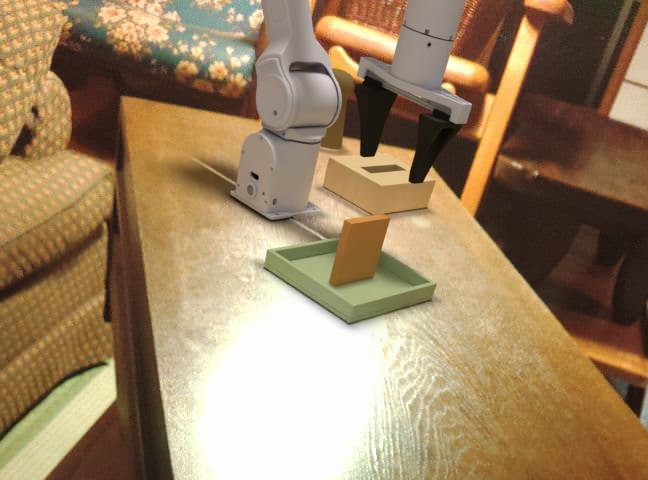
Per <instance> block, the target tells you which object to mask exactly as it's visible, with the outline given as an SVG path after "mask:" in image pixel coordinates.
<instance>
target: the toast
mask: <svg viewBox="0 0 648 480" xmlns="http://www.w3.org/2000/svg"><path fill="white" fill-rule="evenodd" d="M390 221H391V216H389V215H388V214H378V215H371V214H370V215H366V216H365V215H364V216H358V217H351V218H345V219H344V220H343V223H342V227H341V231H340V235H339V236H340V239H339V243H338V247H337V251H336V255H335V259H334V263H333V267H332V271H331V275H330V280H329V282H330V283H332V284H334V285H335V286H338V285H342V284H346V283H350V282H355V281H359V280H363V279H367V278H371V277H374V274H375V270H376V267H377V263H378V260H379V256H380V253H381V250H382V249H383V245H384V242H385V239H386V235H387V232H388V228H389V225H390Z"/></svg>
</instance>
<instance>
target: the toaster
mask: <svg viewBox="0 0 648 480" xmlns="http://www.w3.org/2000/svg"><path fill="white" fill-rule="evenodd" d="M327 160H328V161H327V165H326V168H325V173H324V179H323V182H322V187H323V188H325V189H326V190H328V191H330V192H332V193H333V194H335V195H336V196H339V197H340V198H341V199H344V200H345V201H347V202H349V203H351V204H352V205H354V206H356V207H357V208H359V209H361V210H363V211H364V212H366V213H368V214H370V216H371V215H378V214H385V215H388V214H394V213H402V212H409V211H416V210H423V209H427V208H428V207H429V203H430V201H431V198H432V194H433V191H434V189H435V188H434V187H435V186H436V185H435V184H436V181H437V179H435V178H434V177H431V176H429V175H428V174H427V176H426V178H425V180H424V182H423V183H417V184H412V183H410V182H408V181H409V173H410V169H411V165H408V164H406V163H405V162H404V161H401V160H400V159H397V158H396V157H394V156H392V155H390V154H388V153H386V152H384V153H376V154H375V156H374V157H362V156H360V154H353V155H352V154H351V155H339V156H338V155H335V156H329V157H328V159H327Z"/></svg>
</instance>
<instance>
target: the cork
mask: <svg viewBox="0 0 648 480" xmlns="http://www.w3.org/2000/svg"><path fill="white" fill-rule="evenodd" d="M331 68H332V71H333V74H334V77H335V78H336V80H337V82H338V84H339V86H340V90H341V95H342V106H341V111H340V114H339V116H338V118H337V120H336V122H335V123H334V124H333V125H332V126H330V127H329V128H327V130H326V135H325V137H322V140H321V144H320V148H323V149H327V150H328V149H329V150H341V149H342V148H343V138H344V131H345V130H344V129H345V122H346V121H345V120H346V113H347V102H348V98H349V97H350V96H351V95H352V92H353V91H354V87H355V84H354V83H355V80H354V77H353V75H352V74H351V73H349V72H347V71H346V70H344V69H340V68H336V67H331Z"/></svg>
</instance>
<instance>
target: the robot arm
mask: <svg viewBox="0 0 648 480" xmlns="http://www.w3.org/2000/svg"><path fill="white" fill-rule="evenodd" d="M466 2H467V0H407V2H406V6H405V10H404V14H403V18H402V22H401V25H400V30H399V34H398V38H397V42H396V45H395V49H394V54H393V58H392V62H391V64H388V63H386V62H383V61H382V60H381V61H380V60H378V59H376V58H374V57H370V56H369V57H368V56H360V58H359V59H360V60H359V64H358V68H357V73H356V77H358V78H360V79H362V80H363V81H361V83H355V84H354V88H353V92H354V95H355V100H356V104H357V109H358V117H359V136H360V137H359V155H360V156H362V157H374V156H375V154H377V152H378V150H379V147H380V142H381V139H382V135H383V131H384V128H385V125H386V122H387V120H388V117H389V115H390V112H391V110H392V108H393V105H394V104H395V102H396V100H397V98H398V96H401V97H403V98H405V99H407V100H409V101H411V102H413V103H415V104H417V105H419V106H422V107H424V108H425V109H428V110H430V111H432V113H429V112H427V113H425V112H423V113H419V115H418V126H417V127H418V128H417V139H416V146H415V151H414V155H413V159H412V163H411V165H410V166H411V169H410V173H409V181H408V182H410V183H412V184H417V183H423V182H424V180H425V178H426V176H427V175H428V174H429V172H430V171H431V169H432V167H433V165H434V164H435V162H436V160H437V159H438V157H439V156H440V154H441V153H442V151H443V150H444V149H445V148H446V147H447V145H448V144H449V143H450V142H451V141H452V140H453V139H454V137H456V135H458V133H460V131H461V130H462V128H463V125H464V124H467V123H468V119H469V116H470V113H471V110H472V106H473V104H472V103H471V102H469V101H467V100H465V99H463V98H461V97H459V96H458V95H456V94H454V93H453V92H452V91H450V90H448V89H447V88H445V87H444V86H443V80H444V77H445V75H446V70H447V67H448V63H449V60H450V57H451V53H452V49H453V46H454V43H455V41H456V40H455V39H456V36H457V33H458V29H459V25H460V22H461V19H462V16H463V13H464V9H465V6H466ZM260 3H261V7H262V8H261V9H262V14H263V20H264V26H265V33H266V38H267V44H268V45H267V46H266V48H265V49H264V50H263V52H262V53H261V55H260V56H259V57H258V59H257V60H256V61H255V64H254V67H255V73H256V90H255V108H256V112H257V114H258V116H259V120H261V121H260V126H261V127H262V128H261V129H260V130H259V131H257V132H253V133H251V134H249V135H248V136H247V137H246V138H245V139H244V141H243V143H242V146H241V149H240V156H239V164H238V169H237V177H236V183H235V189H234V190H230V191H229V194H230V196H231V197H233V198H235V199H237V201H240V202H241V203H243V204H244V205H246V206H247V207H249V208H251V209H252V210H254V211H256V212H257V213H259V214H261V215H262V216H263V217H265V218H267V219H268V220H272V221H274V220H281V219H289V218H293V216H297V215H298V216H299V215H306V214H313V213H314V214H315V213H320V212H321V211H322V210H321V209H320V208H319V207H317V206H315V205H313V203H311V202H310V201H309V200H310V197H311V196H310V195H311V191H312V186H313V181H314V176H315V172H316V168H317V163H318V159H319V153H320V148H321V146H320V144H321V140H322V137H325V135H326V130H327V128H329V127H330V126H332V125H333V124H334V123H335V122H336V120H337V118H338V116H339V114H340V111H341V106H342V95H341V90H340V86H339V84H338V82H337V80H336V78H335V77H334V74H333V71H332V68H333V67H332V61H331V56H329V55H330V54H328V52H327V51H326V50H325V48H323V46H322V45H321V44H320V42H319V41H318V40H317V38H316V37H315V32H314V25H313V19H312V12H311V4H310V0H260Z"/></svg>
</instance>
